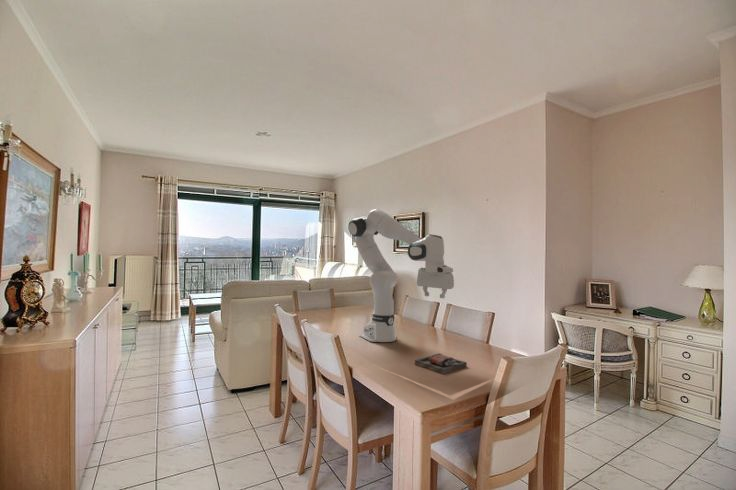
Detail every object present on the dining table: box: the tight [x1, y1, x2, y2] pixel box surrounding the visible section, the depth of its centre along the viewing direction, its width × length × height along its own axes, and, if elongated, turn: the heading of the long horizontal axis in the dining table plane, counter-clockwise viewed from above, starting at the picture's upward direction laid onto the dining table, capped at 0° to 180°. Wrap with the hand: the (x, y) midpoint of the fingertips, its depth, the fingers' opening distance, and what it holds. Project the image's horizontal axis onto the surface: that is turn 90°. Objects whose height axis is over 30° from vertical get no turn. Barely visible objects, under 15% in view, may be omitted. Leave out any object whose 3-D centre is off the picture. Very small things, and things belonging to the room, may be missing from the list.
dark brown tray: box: [414, 355, 467, 375], centre depth 157 cm, size 16×16×2 cm
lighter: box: [429, 353, 456, 367], centre depth 155 cm, size 8×3×10 cm
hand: (434, 297), depth 168 cm, fingers open, 8 cm apart
